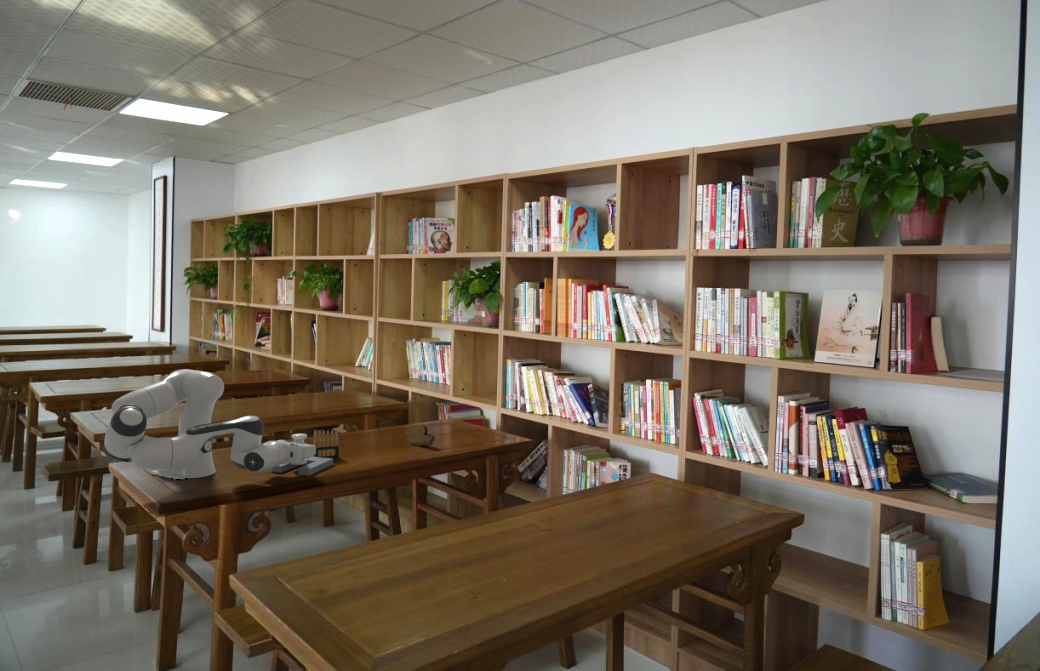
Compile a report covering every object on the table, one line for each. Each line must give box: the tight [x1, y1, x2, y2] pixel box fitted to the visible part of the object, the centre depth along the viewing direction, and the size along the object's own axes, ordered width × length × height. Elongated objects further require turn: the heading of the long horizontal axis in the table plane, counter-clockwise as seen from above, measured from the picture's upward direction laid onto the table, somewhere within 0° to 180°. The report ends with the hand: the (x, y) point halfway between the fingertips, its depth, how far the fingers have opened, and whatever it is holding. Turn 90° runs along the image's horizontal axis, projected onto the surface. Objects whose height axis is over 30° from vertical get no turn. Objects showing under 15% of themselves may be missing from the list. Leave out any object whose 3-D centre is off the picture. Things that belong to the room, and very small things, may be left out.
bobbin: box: [291, 433, 308, 466], centre depth 277 cm, size 6×6×11 cm
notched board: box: [271, 456, 334, 477], centre depth 280 cm, size 16×18×10 cm
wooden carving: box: [405, 422, 436, 447], centre depth 327 cm, size 16×5×10 cm, turn 59°
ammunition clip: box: [312, 429, 340, 459], centre depth 297 cm, size 11×2×12 cm, turn 121°
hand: (300, 444), depth 278 cm, fingers closed on bobbin, 4 cm apart
